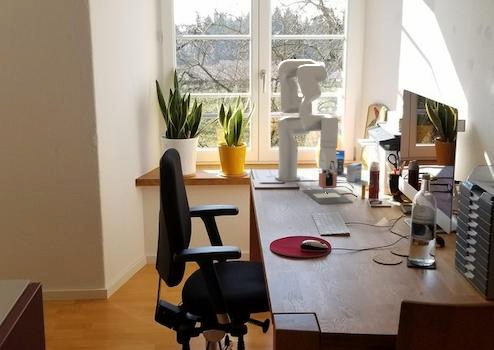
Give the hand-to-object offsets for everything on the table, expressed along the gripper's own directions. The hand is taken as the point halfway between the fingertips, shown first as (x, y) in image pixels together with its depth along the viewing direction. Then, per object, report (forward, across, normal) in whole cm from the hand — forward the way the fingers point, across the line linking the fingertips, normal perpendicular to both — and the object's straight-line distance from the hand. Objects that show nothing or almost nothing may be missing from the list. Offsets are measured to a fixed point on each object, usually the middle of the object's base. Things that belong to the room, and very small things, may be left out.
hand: (327, 184), depth 257 cm
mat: (+6, 0, 0) cm, 6 cm away
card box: (+1, 0, 0) cm, 1 cm away
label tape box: (+6, -46, +22) cm, 51 cm away
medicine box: (+6, -28, +25) cm, 38 cm away
